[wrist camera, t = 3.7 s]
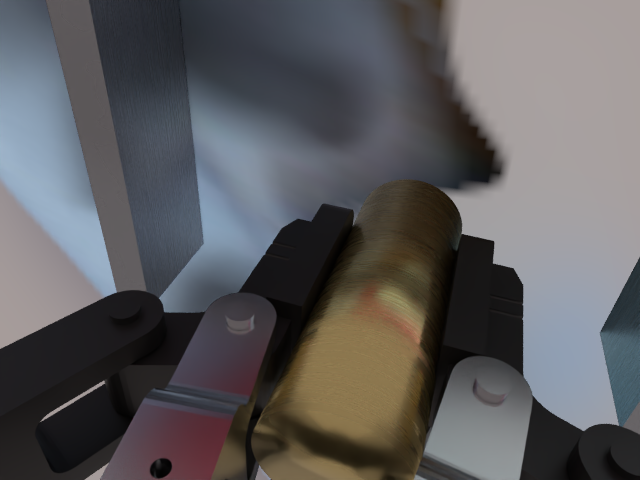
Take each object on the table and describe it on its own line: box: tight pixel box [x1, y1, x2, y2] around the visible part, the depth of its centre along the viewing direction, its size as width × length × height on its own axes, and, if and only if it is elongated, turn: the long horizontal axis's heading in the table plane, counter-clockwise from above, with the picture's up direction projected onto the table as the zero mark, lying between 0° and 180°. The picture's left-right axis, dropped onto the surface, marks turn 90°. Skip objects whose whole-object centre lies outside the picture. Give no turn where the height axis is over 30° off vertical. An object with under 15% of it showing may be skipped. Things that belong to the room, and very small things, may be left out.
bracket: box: [46, 0, 640, 434], centre depth 14 cm, size 17×13×4 cm
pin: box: [251, 180, 462, 480], centre depth 11 cm, size 3×3×7 cm
